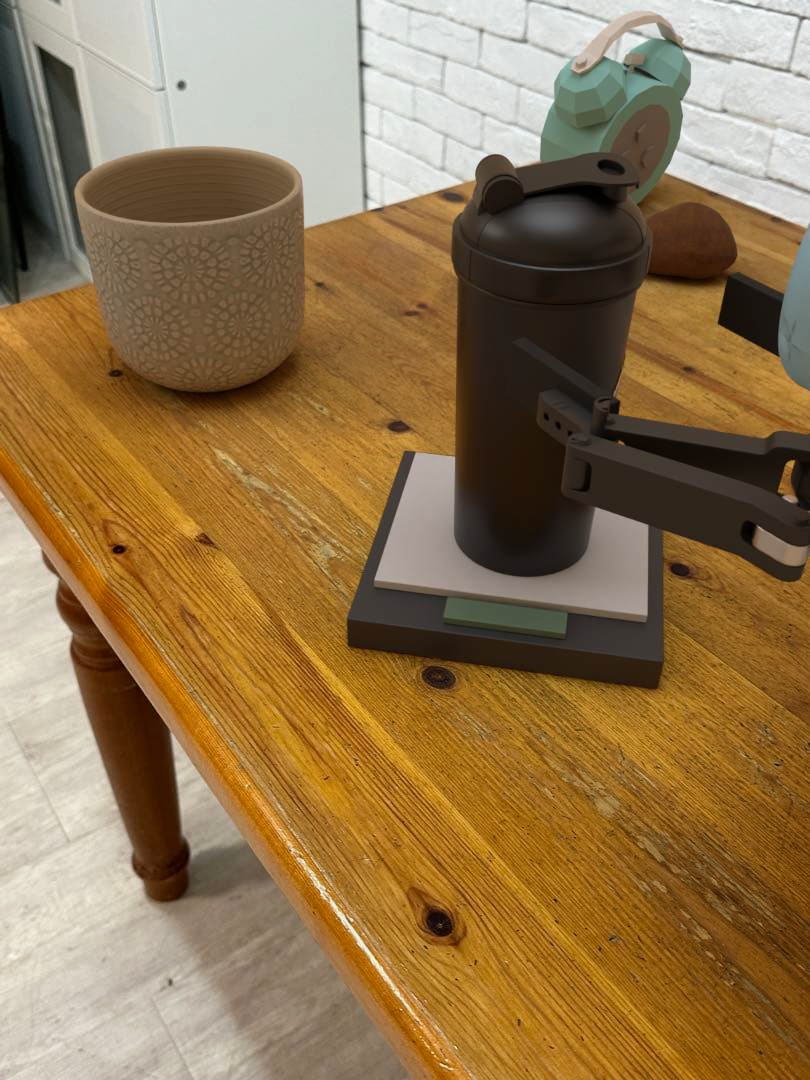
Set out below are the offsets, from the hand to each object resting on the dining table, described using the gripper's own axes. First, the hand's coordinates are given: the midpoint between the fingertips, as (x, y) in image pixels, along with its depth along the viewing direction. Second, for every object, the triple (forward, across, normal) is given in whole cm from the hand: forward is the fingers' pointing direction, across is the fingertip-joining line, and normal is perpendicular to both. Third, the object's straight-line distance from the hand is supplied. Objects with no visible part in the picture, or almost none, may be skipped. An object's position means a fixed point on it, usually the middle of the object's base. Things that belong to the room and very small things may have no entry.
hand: (626, 329), depth 51 cm
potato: (+35, +41, -20) cm, 58 cm away
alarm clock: (+53, +47, -20) cm, 73 cm away
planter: (+42, -6, -20) cm, 46 cm away
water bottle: (+7, 0, -17) cm, 18 cm away
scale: (+6, 0, -20) cm, 21 cm away
